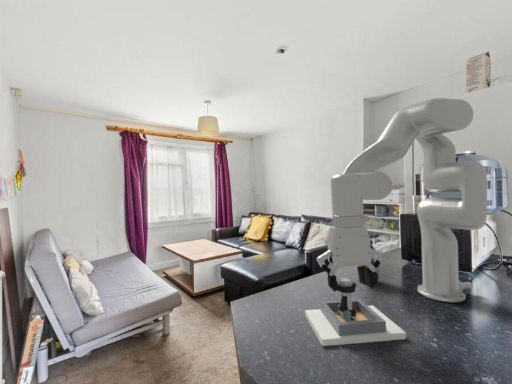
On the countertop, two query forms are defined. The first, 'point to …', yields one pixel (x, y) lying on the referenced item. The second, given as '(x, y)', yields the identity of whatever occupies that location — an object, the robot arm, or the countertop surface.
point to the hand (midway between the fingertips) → (351, 287)
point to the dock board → (352, 325)
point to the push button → (346, 299)
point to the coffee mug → (362, 276)
